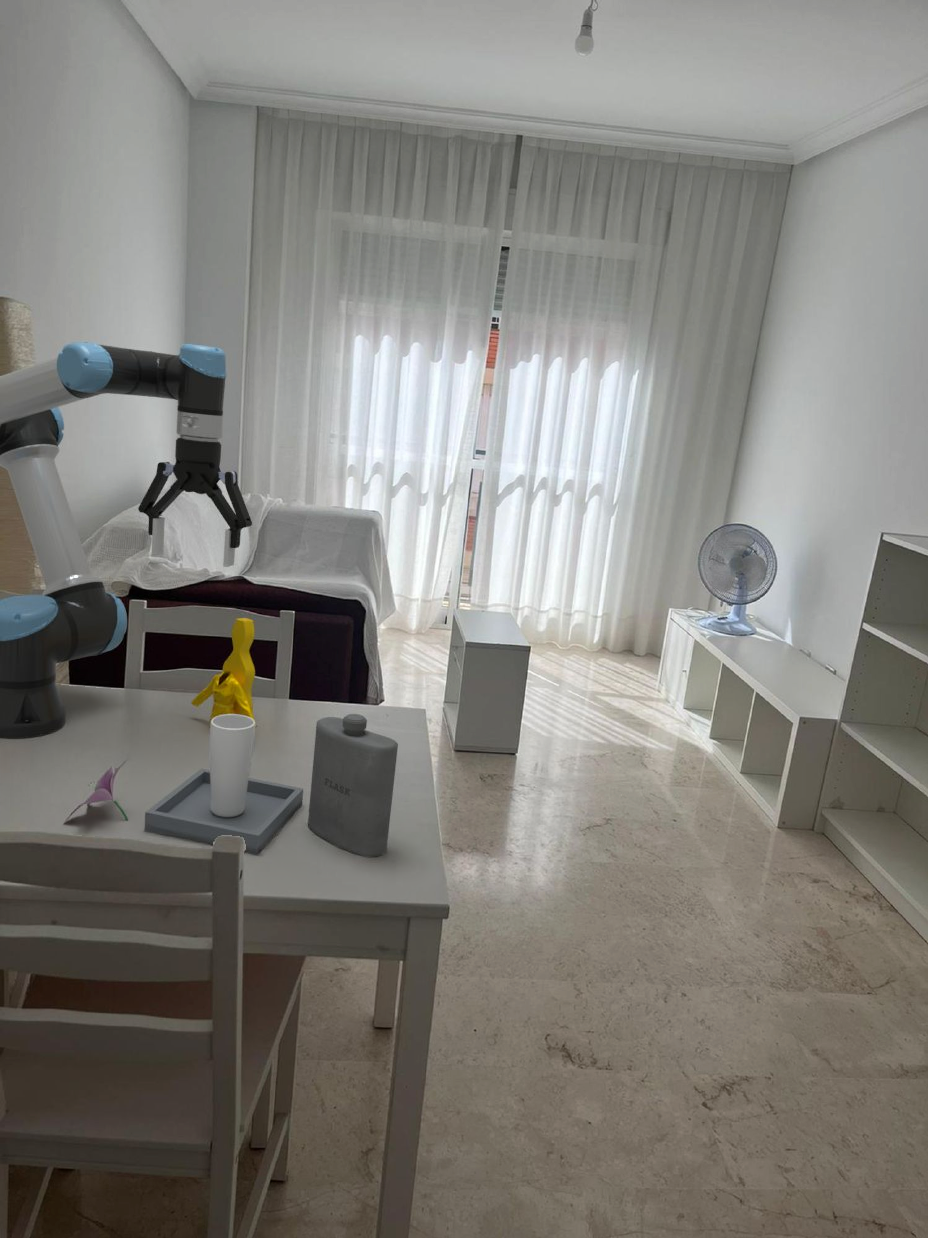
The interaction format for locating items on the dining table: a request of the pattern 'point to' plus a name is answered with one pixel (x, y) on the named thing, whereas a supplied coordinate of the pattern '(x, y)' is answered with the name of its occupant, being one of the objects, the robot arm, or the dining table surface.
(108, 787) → the lily
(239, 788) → the drinking glass
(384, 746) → the flask
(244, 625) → the figure statuette
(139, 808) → the dining table surface
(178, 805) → the tray
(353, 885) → the dining table surface
